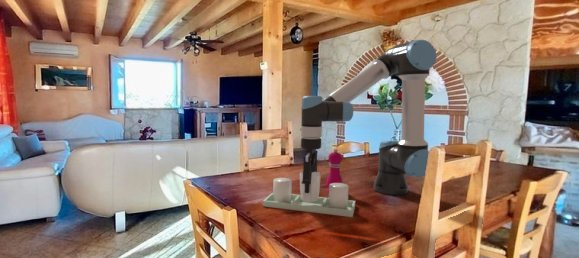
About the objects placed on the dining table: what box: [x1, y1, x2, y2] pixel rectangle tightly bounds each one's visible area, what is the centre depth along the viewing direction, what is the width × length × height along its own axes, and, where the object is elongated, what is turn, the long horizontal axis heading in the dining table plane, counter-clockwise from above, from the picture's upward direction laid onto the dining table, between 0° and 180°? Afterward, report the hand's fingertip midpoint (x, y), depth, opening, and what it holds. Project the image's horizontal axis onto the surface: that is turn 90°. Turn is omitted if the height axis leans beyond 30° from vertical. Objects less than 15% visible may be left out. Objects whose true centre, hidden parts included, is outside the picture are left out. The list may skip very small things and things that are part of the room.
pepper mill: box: [325, 148, 344, 194], centre depth 136 cm, size 7×7×20 cm
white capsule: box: [272, 177, 293, 203], centre depth 121 cm, size 7×7×9 cm
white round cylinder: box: [328, 183, 349, 210], centre depth 115 cm, size 7×7×9 cm
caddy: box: [262, 192, 356, 218], centre depth 118 cm, size 33×12×3 cm, turn 74°
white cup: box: [299, 171, 322, 202], centre depth 118 cm, size 8×8×10 cm
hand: (309, 197), depth 118 cm, fingers closed on white cup, 8 cm apart
